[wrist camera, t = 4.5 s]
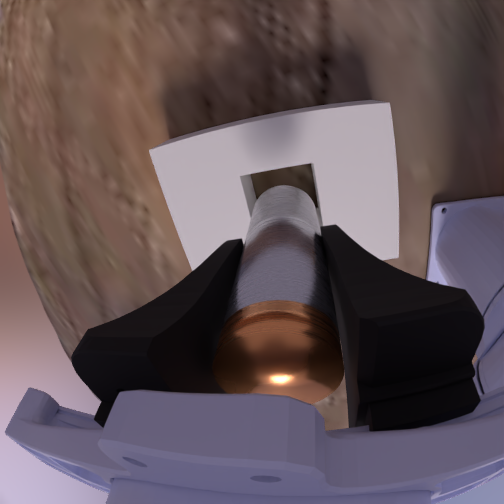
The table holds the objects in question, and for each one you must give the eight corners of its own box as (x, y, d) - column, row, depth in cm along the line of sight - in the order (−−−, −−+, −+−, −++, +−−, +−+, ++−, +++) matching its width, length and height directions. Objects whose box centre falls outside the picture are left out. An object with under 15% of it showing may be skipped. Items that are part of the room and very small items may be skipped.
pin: (315, 183, 13) (351, 329, 5) (316, 242, 15) (336, 406, 7) (249, 187, 13) (199, 332, 6) (256, 244, 15) (225, 406, 7)
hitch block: (372, 99, 16) (389, 102, 13) (384, 233, 21) (398, 257, 18) (169, 139, 19) (148, 150, 16) (209, 259, 24) (198, 285, 21)
